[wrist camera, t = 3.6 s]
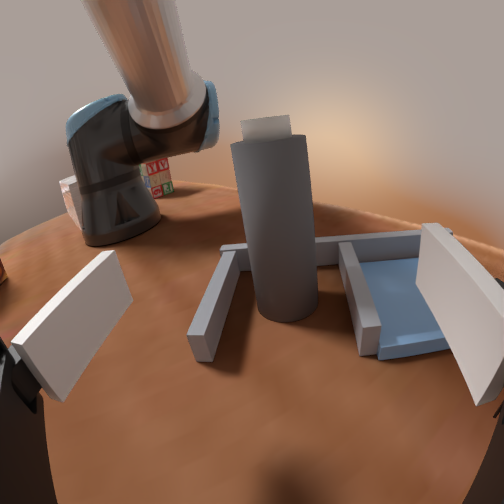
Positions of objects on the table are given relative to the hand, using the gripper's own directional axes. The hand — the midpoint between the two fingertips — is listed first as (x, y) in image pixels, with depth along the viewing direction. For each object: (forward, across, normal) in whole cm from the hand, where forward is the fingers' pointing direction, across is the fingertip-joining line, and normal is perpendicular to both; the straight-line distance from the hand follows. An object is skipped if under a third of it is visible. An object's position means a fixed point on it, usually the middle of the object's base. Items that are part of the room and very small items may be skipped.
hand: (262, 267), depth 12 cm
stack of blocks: (+62, -39, -9) cm, 74 cm away
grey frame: (+10, +6, -9) cm, 14 cm away
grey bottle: (+10, 0, -9) cm, 13 cm away
